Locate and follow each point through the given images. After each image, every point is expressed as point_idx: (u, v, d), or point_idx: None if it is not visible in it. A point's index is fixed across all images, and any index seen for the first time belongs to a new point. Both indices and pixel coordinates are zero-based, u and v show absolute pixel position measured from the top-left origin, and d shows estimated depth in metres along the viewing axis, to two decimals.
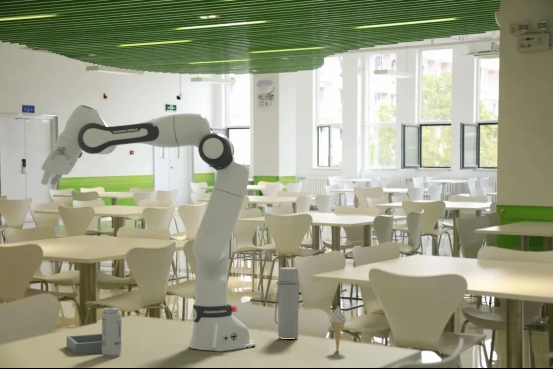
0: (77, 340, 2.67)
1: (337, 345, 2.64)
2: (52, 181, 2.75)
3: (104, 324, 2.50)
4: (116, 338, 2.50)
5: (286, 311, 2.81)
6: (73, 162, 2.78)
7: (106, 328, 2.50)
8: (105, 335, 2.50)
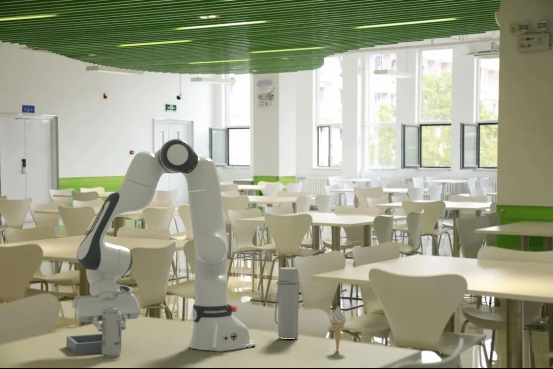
0: (77, 340, 2.67)
1: (337, 345, 2.64)
2: None
3: (104, 324, 2.50)
4: (116, 338, 2.50)
5: (286, 311, 2.81)
6: (130, 299, 2.61)
7: (106, 328, 2.50)
8: (105, 335, 2.50)
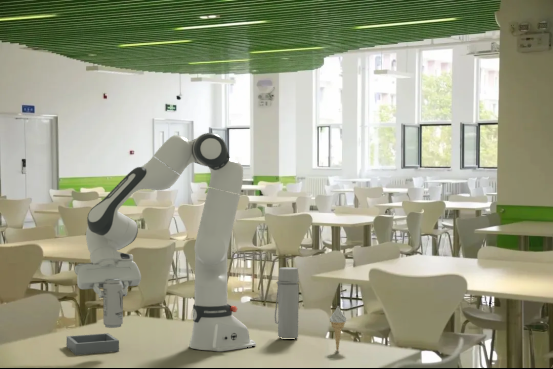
0: (77, 340, 2.67)
1: (337, 345, 2.64)
2: None
3: (105, 294, 2.50)
4: (117, 308, 2.50)
5: (286, 311, 2.81)
6: (131, 266, 2.60)
7: (107, 298, 2.50)
8: (106, 306, 2.50)
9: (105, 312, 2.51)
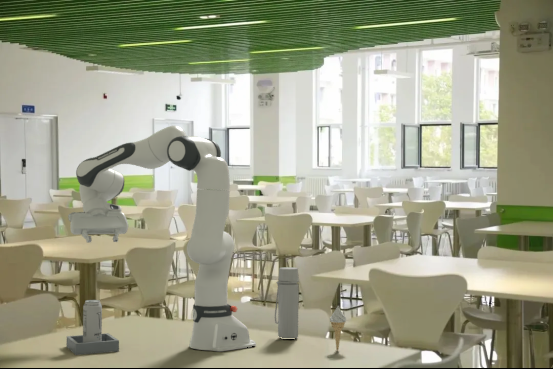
0: (77, 340, 2.67)
1: (337, 345, 2.64)
2: (113, 239, 2.83)
3: (85, 316, 2.61)
4: (96, 329, 2.61)
5: (286, 311, 2.81)
6: (119, 216, 2.88)
7: (87, 319, 2.60)
8: (86, 327, 2.61)
9: (84, 333, 2.61)
